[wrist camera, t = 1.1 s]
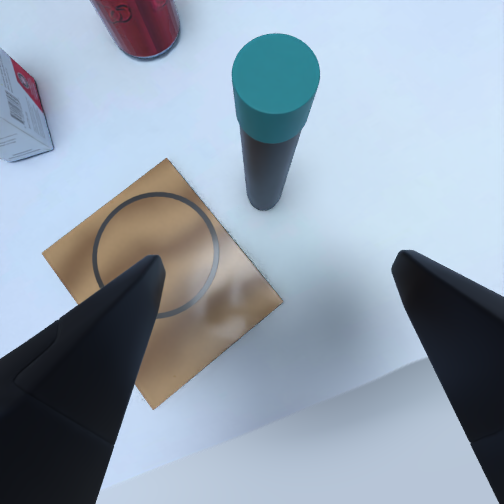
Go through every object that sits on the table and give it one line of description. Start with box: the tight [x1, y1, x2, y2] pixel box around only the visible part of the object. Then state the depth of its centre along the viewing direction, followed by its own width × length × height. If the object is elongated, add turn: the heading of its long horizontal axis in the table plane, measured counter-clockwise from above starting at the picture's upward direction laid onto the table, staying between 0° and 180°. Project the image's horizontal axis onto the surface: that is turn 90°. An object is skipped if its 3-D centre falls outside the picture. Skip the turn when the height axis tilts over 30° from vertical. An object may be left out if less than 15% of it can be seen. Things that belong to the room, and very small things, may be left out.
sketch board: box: [42, 158, 283, 410], centre depth 22 cm, size 18×15×1 cm
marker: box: [232, 33, 320, 210], centre depth 16 cm, size 3×3×14 cm
